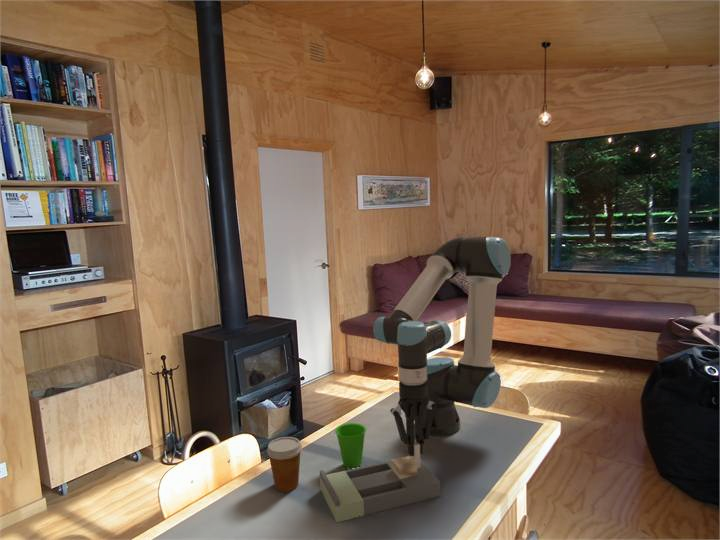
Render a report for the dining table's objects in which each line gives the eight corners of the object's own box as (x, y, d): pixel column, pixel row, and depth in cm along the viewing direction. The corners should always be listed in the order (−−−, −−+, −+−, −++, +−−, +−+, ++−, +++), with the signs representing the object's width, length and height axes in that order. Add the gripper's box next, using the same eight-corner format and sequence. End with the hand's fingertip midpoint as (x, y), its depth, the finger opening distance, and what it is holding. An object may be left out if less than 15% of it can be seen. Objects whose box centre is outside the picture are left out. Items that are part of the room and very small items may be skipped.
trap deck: (415, 468, 142) (414, 450, 142) (440, 495, 128) (440, 475, 128) (320, 490, 133) (319, 470, 133) (336, 522, 119) (335, 501, 119)
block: (409, 466, 136) (408, 455, 136) (417, 475, 131) (416, 464, 131) (392, 470, 134) (391, 459, 134) (399, 479, 130) (399, 468, 129)
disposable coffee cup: (289, 499, 130) (286, 455, 128) (261, 489, 135) (258, 447, 133) (311, 481, 138) (308, 440, 136) (284, 473, 143) (282, 433, 141)
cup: (364, 474, 140) (363, 437, 139) (333, 472, 142) (331, 435, 141) (370, 458, 149) (368, 423, 148) (341, 456, 151) (339, 422, 150)
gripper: (396, 389, 125) (399, 477, 128) (442, 381, 129) (444, 467, 132) (384, 380, 132) (387, 464, 135) (428, 373, 136) (430, 454, 139)
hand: (415, 465), depth 133 cm, fingers closed
